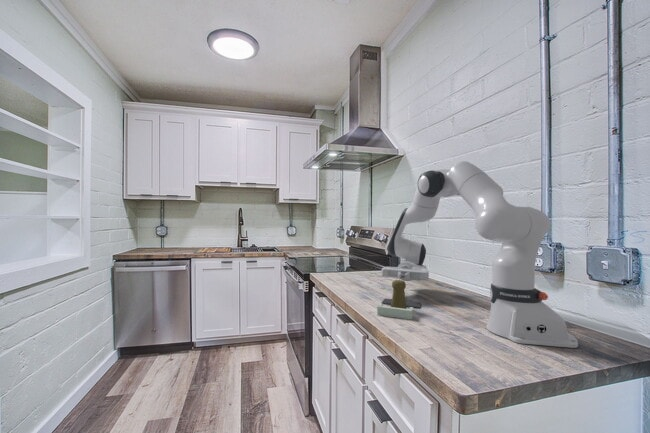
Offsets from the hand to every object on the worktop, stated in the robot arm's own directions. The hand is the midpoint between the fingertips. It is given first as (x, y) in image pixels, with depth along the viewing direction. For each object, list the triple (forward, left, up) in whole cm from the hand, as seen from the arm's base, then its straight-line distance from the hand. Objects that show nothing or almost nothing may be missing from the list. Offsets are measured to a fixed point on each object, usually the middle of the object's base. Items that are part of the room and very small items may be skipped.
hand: (402, 276), depth 122 cm
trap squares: (0, +3, -11) cm, 11 cm away
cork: (0, +11, -11) cm, 15 cm away
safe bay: (0, +19, -11) cm, 22 cm away
